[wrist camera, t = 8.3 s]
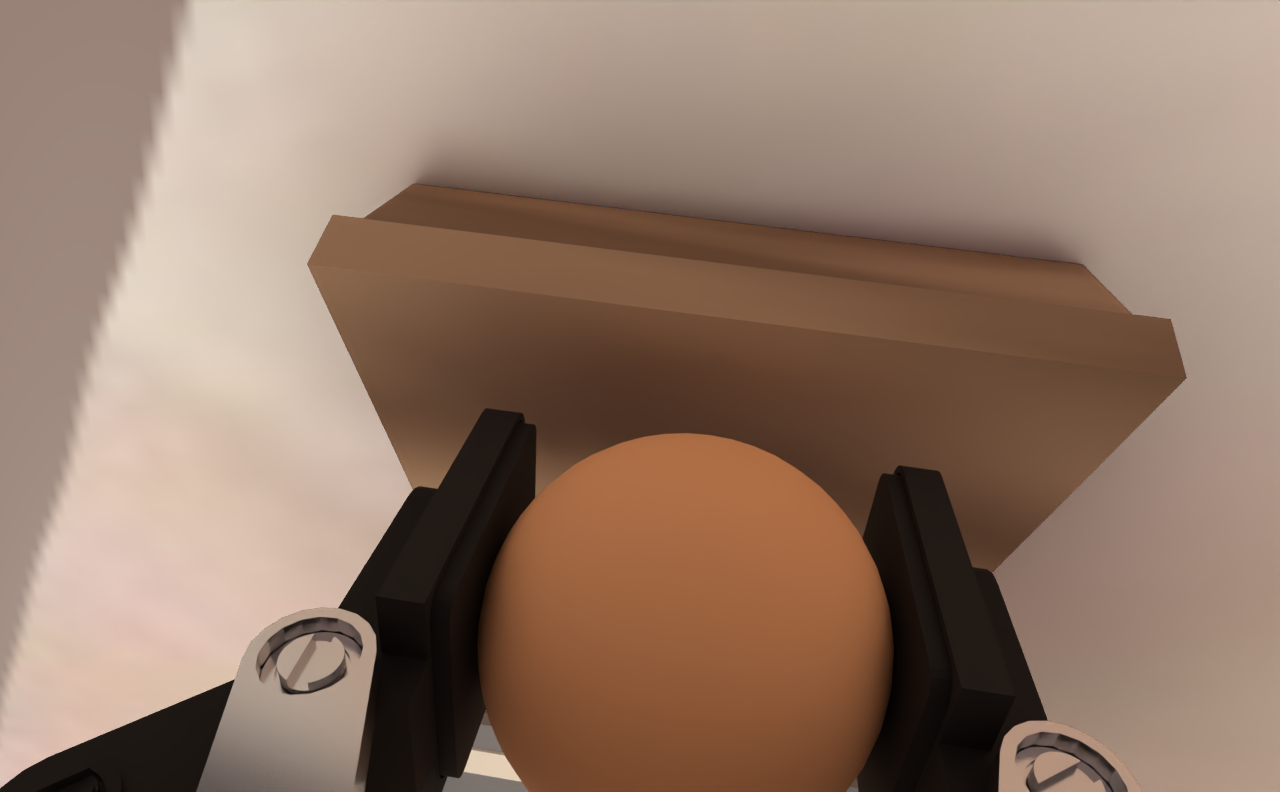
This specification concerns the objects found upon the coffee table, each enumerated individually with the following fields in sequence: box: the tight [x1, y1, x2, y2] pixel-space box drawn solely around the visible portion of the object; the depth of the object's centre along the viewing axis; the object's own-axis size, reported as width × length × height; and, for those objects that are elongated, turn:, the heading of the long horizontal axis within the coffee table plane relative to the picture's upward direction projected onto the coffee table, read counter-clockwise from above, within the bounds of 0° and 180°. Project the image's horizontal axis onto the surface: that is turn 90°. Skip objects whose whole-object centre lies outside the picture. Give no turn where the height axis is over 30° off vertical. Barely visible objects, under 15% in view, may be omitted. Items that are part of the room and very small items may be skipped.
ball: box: [477, 433, 894, 792], centre depth 10 cm, size 5×5×5 cm
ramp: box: [307, 184, 1186, 572], centre depth 15 cm, size 9×12×5 cm
